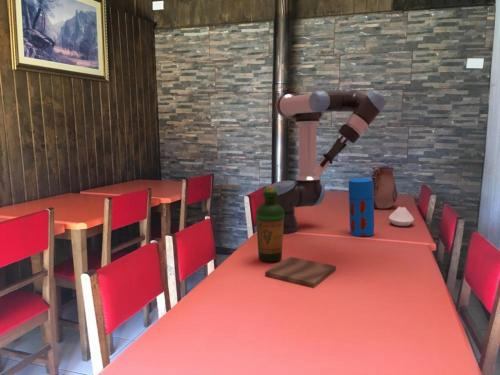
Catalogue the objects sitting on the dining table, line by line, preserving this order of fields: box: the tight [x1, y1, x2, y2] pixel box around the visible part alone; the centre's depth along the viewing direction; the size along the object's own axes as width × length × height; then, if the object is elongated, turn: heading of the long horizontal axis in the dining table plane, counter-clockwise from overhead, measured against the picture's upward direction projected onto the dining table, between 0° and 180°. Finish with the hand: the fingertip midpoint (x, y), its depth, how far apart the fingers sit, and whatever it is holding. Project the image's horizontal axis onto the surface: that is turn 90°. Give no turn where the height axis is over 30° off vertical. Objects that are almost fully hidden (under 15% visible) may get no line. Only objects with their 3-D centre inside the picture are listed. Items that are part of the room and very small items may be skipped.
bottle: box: [255, 185, 284, 264], centre depth 148 cm, size 11×11×28 cm
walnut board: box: [264, 256, 337, 288], centre depth 136 cm, size 18×18×2 cm
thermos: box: [348, 177, 375, 237], centre depth 181 cm, size 11×11×25 cm
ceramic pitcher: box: [370, 165, 398, 210], centre depth 236 cm, size 18×21×25 cm
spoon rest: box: [388, 206, 415, 227], centre depth 204 cm, size 24×12×7 cm, turn 160°
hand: (315, 174), depth 149 cm, fingers open, 13 cm apart
